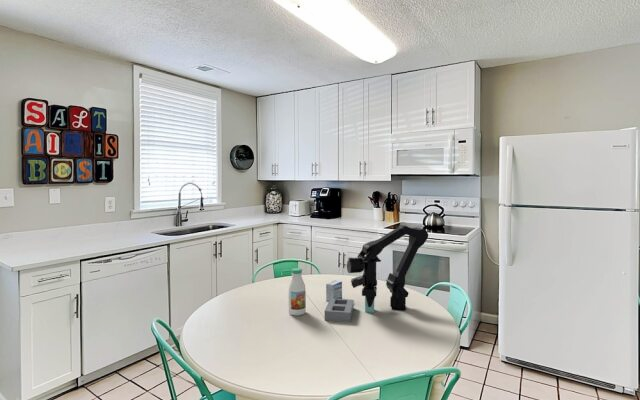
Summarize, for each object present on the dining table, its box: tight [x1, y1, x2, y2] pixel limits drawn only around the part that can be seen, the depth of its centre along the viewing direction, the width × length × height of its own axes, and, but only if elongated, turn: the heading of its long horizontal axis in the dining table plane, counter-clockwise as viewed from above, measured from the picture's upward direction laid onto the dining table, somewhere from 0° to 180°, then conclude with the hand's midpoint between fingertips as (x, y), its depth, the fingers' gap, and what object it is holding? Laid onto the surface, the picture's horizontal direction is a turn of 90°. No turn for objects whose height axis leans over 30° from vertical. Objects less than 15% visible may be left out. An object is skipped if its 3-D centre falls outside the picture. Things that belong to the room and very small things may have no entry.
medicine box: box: [325, 279, 343, 302], centre depth 178 cm, size 8×4×9 cm, turn 143°
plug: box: [364, 296, 375, 314], centre depth 163 cm, size 4×4×9 cm
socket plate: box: [324, 298, 355, 323], centre depth 160 cm, size 11×16×4 cm
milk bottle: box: [287, 267, 307, 317], centre depth 161 cm, size 8×8×20 cm
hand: (369, 305), depth 163 cm, fingers closed on plug, 4 cm apart
